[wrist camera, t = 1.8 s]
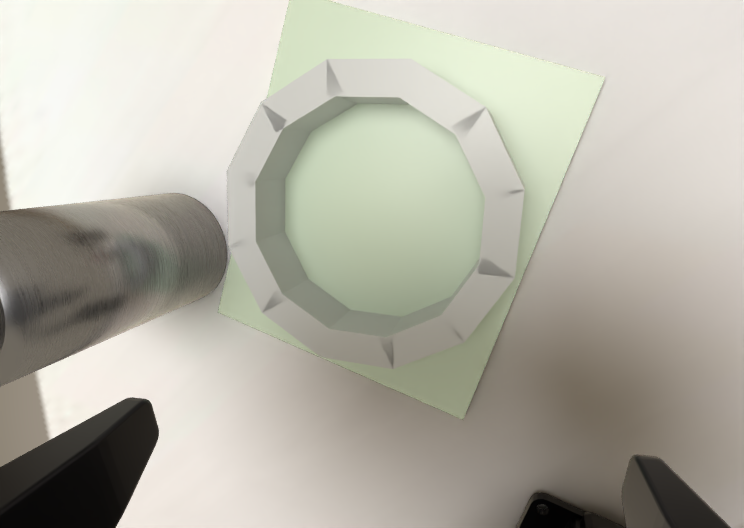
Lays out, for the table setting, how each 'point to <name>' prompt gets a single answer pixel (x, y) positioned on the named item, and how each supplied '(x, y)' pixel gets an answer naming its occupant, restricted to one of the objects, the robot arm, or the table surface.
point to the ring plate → (396, 195)
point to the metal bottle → (99, 272)
